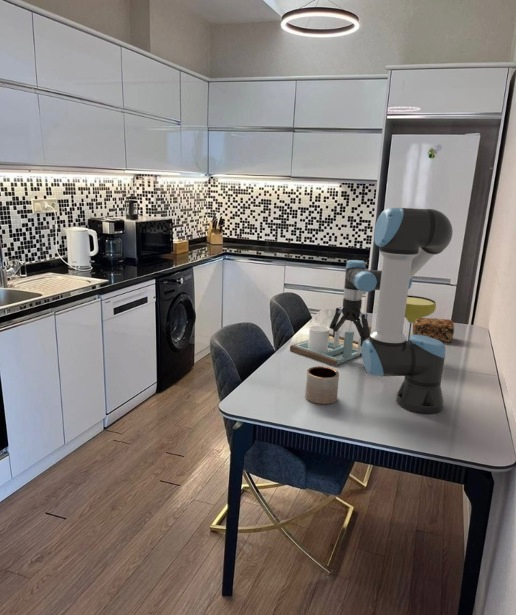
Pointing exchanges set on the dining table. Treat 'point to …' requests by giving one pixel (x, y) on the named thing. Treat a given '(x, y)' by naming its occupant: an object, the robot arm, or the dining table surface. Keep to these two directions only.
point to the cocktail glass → (418, 308)
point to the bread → (434, 328)
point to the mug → (318, 339)
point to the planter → (322, 385)
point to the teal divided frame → (338, 348)
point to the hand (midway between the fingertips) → (347, 349)
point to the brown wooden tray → (315, 355)
